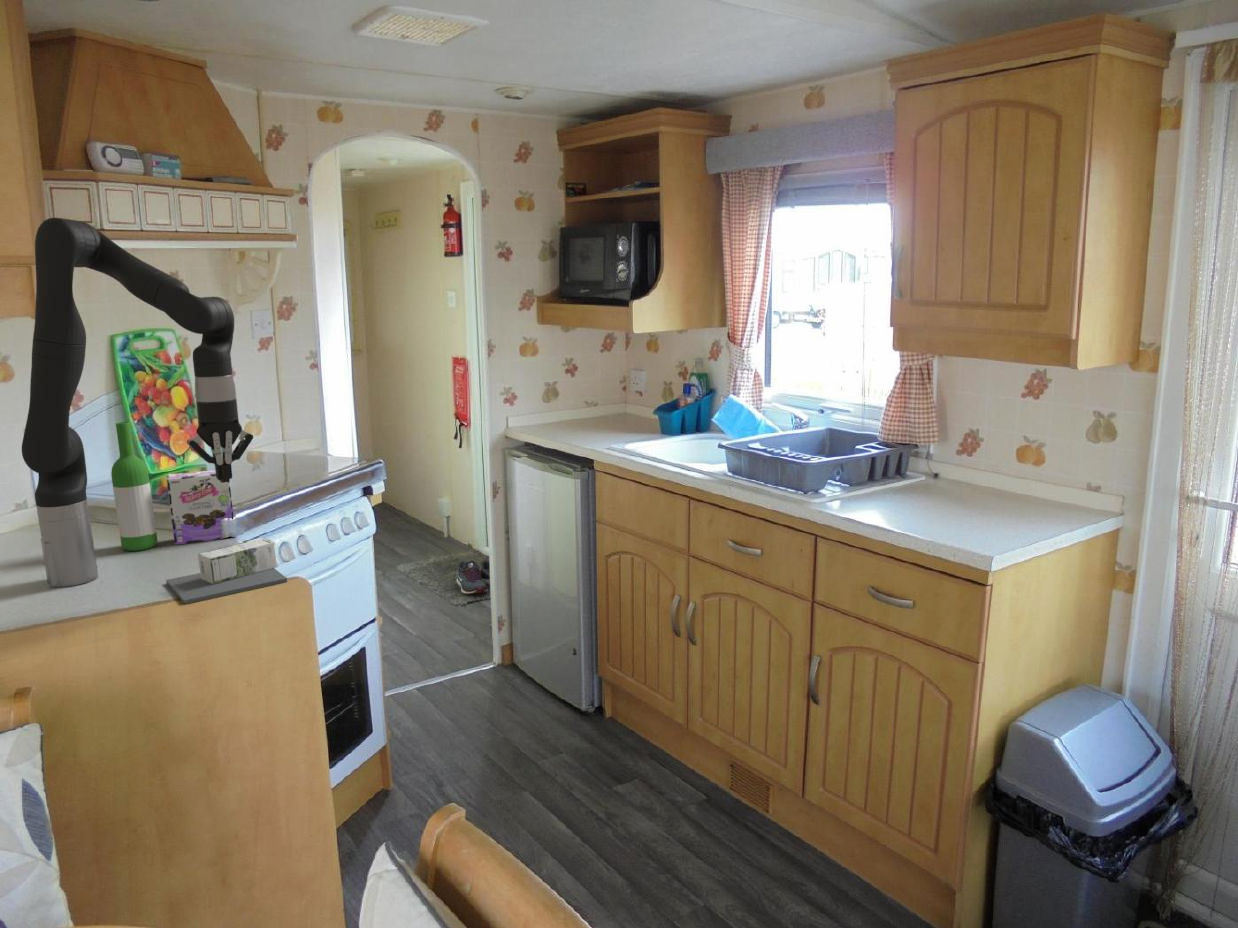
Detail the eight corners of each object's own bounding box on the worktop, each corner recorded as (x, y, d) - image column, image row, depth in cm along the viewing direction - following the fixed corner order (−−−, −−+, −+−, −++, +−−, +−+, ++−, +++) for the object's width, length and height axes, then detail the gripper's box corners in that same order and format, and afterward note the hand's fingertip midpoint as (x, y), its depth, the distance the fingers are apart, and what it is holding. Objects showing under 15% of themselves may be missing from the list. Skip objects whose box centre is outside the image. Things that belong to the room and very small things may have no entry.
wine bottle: (116, 548, 223) (98, 423, 216) (149, 540, 229) (132, 418, 222) (130, 554, 218) (112, 426, 211) (164, 546, 224) (147, 421, 217)
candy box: (174, 545, 224) (165, 478, 220) (174, 539, 229) (166, 473, 225) (236, 537, 229) (228, 471, 226) (235, 531, 234) (228, 467, 231)
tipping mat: (184, 604, 184) (184, 600, 184) (166, 583, 197) (166, 579, 197) (287, 581, 196) (286, 578, 196) (264, 563, 208) (263, 560, 208)
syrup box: (200, 579, 196) (264, 561, 207) (213, 585, 193) (278, 566, 203) (196, 553, 195) (262, 536, 206) (210, 558, 191) (275, 541, 202)
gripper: (185, 403, 182) (194, 489, 186) (255, 396, 190) (263, 480, 194) (176, 399, 188) (186, 483, 192) (244, 392, 196) (252, 474, 199)
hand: (224, 481), depth 193 cm, fingers closed
